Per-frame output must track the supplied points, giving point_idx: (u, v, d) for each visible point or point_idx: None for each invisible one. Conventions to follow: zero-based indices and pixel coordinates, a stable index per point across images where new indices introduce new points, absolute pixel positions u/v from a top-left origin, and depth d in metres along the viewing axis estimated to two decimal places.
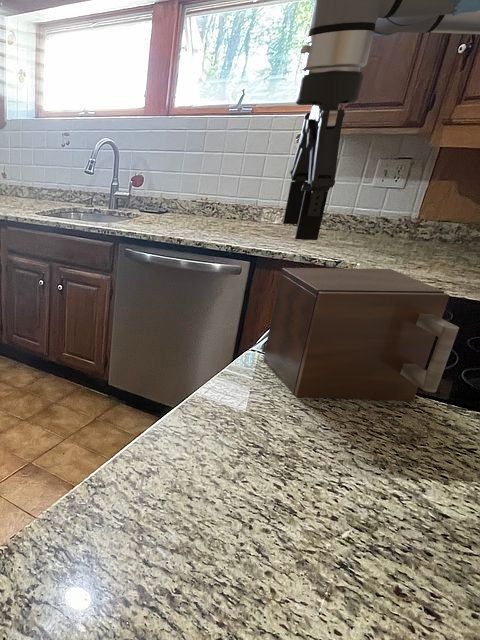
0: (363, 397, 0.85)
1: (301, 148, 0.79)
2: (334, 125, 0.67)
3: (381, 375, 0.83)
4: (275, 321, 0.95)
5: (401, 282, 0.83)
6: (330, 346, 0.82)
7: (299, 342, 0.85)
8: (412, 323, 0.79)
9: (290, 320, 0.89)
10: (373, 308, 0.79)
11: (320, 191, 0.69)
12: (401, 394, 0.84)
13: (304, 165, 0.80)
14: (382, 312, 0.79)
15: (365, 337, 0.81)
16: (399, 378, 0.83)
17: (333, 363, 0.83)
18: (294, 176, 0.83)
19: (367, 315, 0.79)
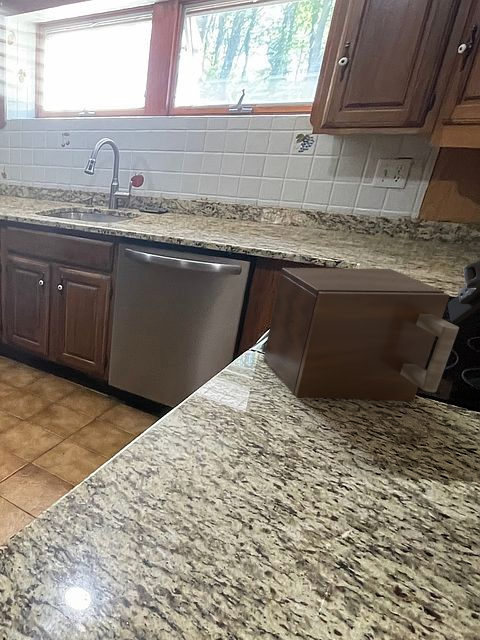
0: (363, 397, 0.85)
1: None
2: None
3: (381, 375, 0.83)
4: (275, 321, 0.95)
5: (401, 282, 0.83)
6: (330, 346, 0.82)
7: (299, 342, 0.85)
8: (412, 323, 0.79)
9: (290, 320, 0.89)
10: (373, 308, 0.79)
11: None
12: (401, 394, 0.84)
13: None
14: (382, 312, 0.79)
15: (365, 337, 0.81)
16: (399, 378, 0.83)
17: (333, 363, 0.83)
18: None
19: (367, 315, 0.79)
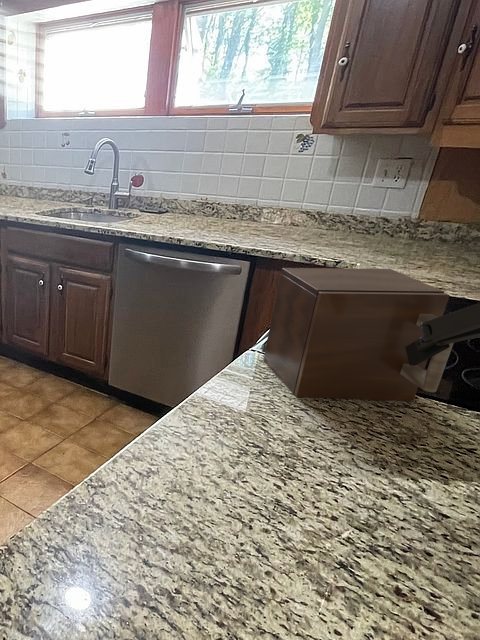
0: (363, 397, 0.85)
1: None
2: None
3: (381, 375, 0.83)
4: (275, 321, 0.95)
5: (401, 282, 0.83)
6: (330, 346, 0.82)
7: (299, 342, 0.85)
8: (412, 323, 0.79)
9: (290, 320, 0.89)
10: (373, 308, 0.79)
11: None
12: (401, 394, 0.84)
13: None
14: (382, 312, 0.79)
15: (365, 337, 0.81)
16: (399, 378, 0.83)
17: (333, 363, 0.83)
18: None
19: (367, 315, 0.79)
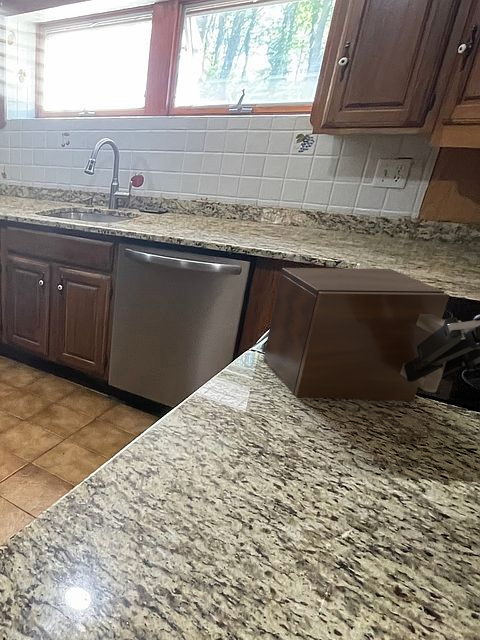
0: (363, 397, 0.85)
1: (469, 348, 0.68)
2: None
3: (381, 375, 0.83)
4: (275, 321, 0.95)
5: (401, 282, 0.83)
6: (330, 346, 0.82)
7: (299, 342, 0.85)
8: (412, 323, 0.79)
9: (290, 320, 0.89)
10: (373, 308, 0.79)
11: None
12: (401, 394, 0.84)
13: None
14: (382, 312, 0.79)
15: (365, 337, 0.81)
16: (399, 378, 0.83)
17: (333, 363, 0.83)
18: None
19: (367, 315, 0.79)
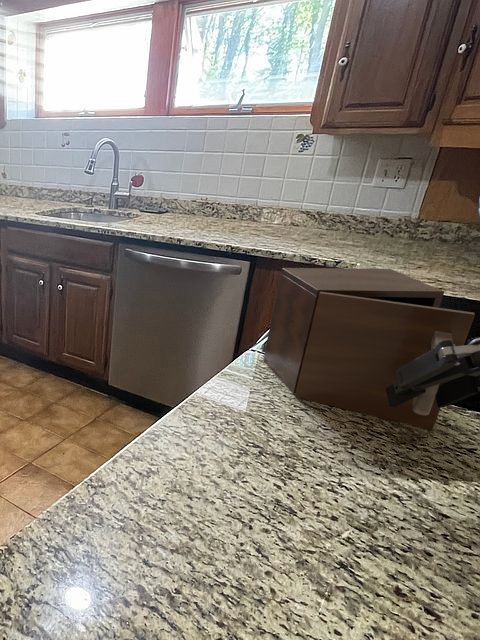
0: (369, 413, 0.80)
1: (460, 374, 0.61)
2: None
3: None
4: (275, 321, 0.95)
5: (401, 282, 0.83)
6: (331, 350, 0.80)
7: (299, 342, 0.85)
8: (427, 340, 0.73)
9: (290, 320, 0.89)
10: (378, 316, 0.75)
11: None
12: (416, 419, 0.77)
13: None
14: (390, 322, 0.75)
15: (370, 347, 0.77)
16: (412, 400, 0.76)
17: (334, 369, 0.81)
18: None
19: (371, 323, 0.76)
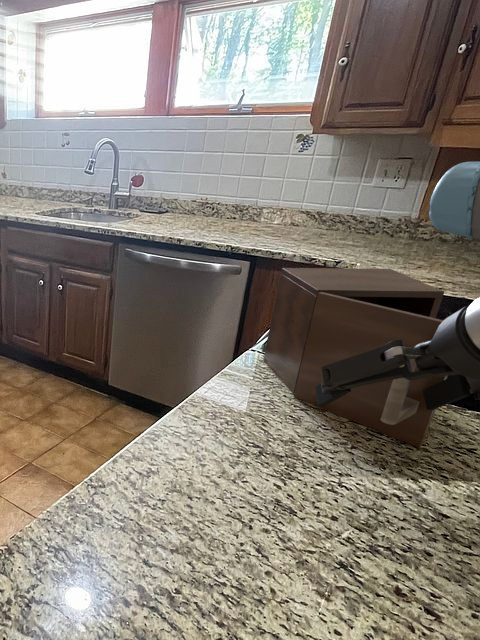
0: (360, 421, 0.78)
1: (395, 377, 0.59)
2: None
3: (380, 402, 0.75)
4: (275, 321, 0.95)
5: (401, 282, 0.83)
6: (326, 351, 0.80)
7: (299, 342, 0.85)
8: None
9: (290, 320, 0.89)
10: (370, 321, 0.74)
11: None
12: (403, 434, 0.73)
13: None
14: (381, 328, 0.73)
15: (362, 352, 0.75)
16: None
17: None
18: None
19: (364, 328, 0.74)
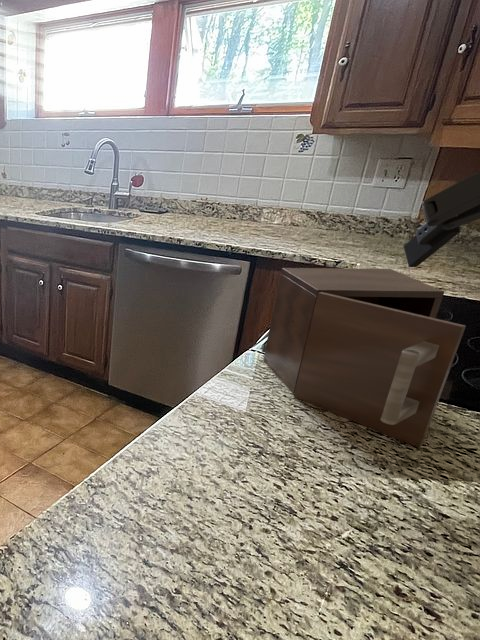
0: (360, 421, 0.78)
1: None
2: None
3: (380, 402, 0.75)
4: (275, 321, 0.95)
5: (401, 282, 0.83)
6: (326, 351, 0.80)
7: (299, 342, 0.85)
8: None
9: (290, 320, 0.89)
10: (370, 321, 0.74)
11: None
12: (403, 434, 0.73)
13: None
14: (381, 328, 0.73)
15: (362, 352, 0.75)
16: None
17: (329, 371, 0.80)
18: (460, 224, 0.50)
19: (364, 328, 0.74)
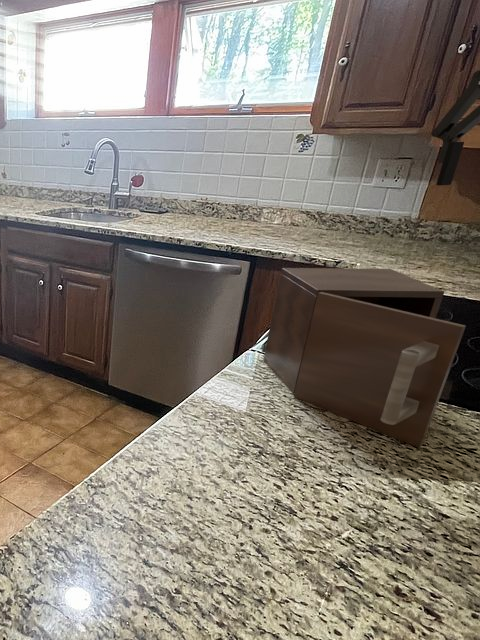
0: (360, 421, 0.78)
1: None
2: None
3: (380, 402, 0.75)
4: (275, 321, 0.95)
5: (401, 282, 0.83)
6: (326, 351, 0.80)
7: (299, 342, 0.85)
8: None
9: (290, 320, 0.89)
10: (370, 321, 0.74)
11: None
12: (403, 434, 0.73)
13: (472, 124, 0.81)
14: (381, 328, 0.73)
15: (362, 352, 0.75)
16: None
17: (329, 371, 0.80)
18: (454, 136, 0.82)
19: (364, 328, 0.74)
